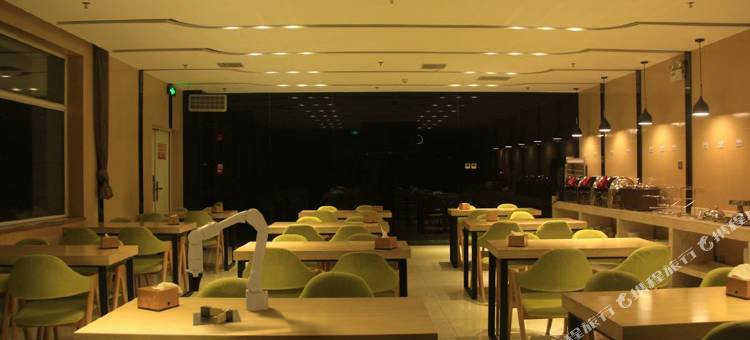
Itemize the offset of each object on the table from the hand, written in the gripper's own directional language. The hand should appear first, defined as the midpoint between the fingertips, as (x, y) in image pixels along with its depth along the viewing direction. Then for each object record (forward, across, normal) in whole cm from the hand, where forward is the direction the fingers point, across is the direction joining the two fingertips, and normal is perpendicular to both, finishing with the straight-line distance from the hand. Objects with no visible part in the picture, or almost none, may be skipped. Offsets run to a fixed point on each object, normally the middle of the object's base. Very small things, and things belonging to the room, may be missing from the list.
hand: (195, 291), depth 243 cm
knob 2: (+8, +19, +11) cm, 23 cm away
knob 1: (+9, +8, +6) cm, 13 cm away
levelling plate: (+10, +12, +8) cm, 17 cm away
